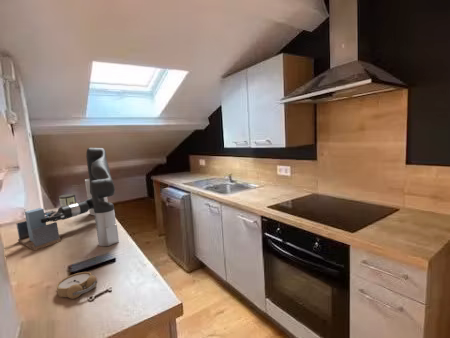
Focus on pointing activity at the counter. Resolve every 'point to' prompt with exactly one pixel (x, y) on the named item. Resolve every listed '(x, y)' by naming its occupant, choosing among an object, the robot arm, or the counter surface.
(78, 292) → the alarm clock
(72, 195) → the coffee can
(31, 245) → the book stand
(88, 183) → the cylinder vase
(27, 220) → the book
